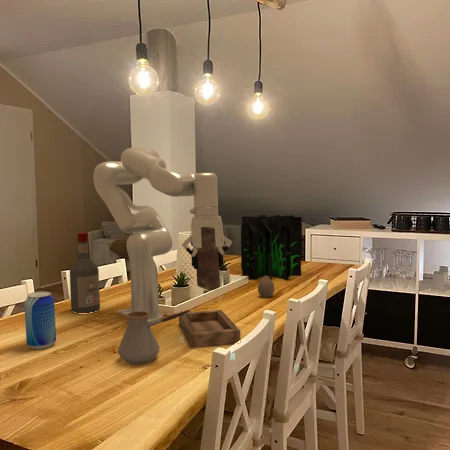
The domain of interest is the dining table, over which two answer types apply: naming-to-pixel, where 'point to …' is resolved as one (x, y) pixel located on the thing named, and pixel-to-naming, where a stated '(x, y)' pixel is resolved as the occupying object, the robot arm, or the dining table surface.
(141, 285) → the robot arm
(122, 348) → the coffee pot
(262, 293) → the brown egg
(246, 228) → the black pleated panel block
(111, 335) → the dining table surface
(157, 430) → the dining table surface
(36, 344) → the beer can
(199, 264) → the dark brown block
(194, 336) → the wooden tray
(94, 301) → the liquor
